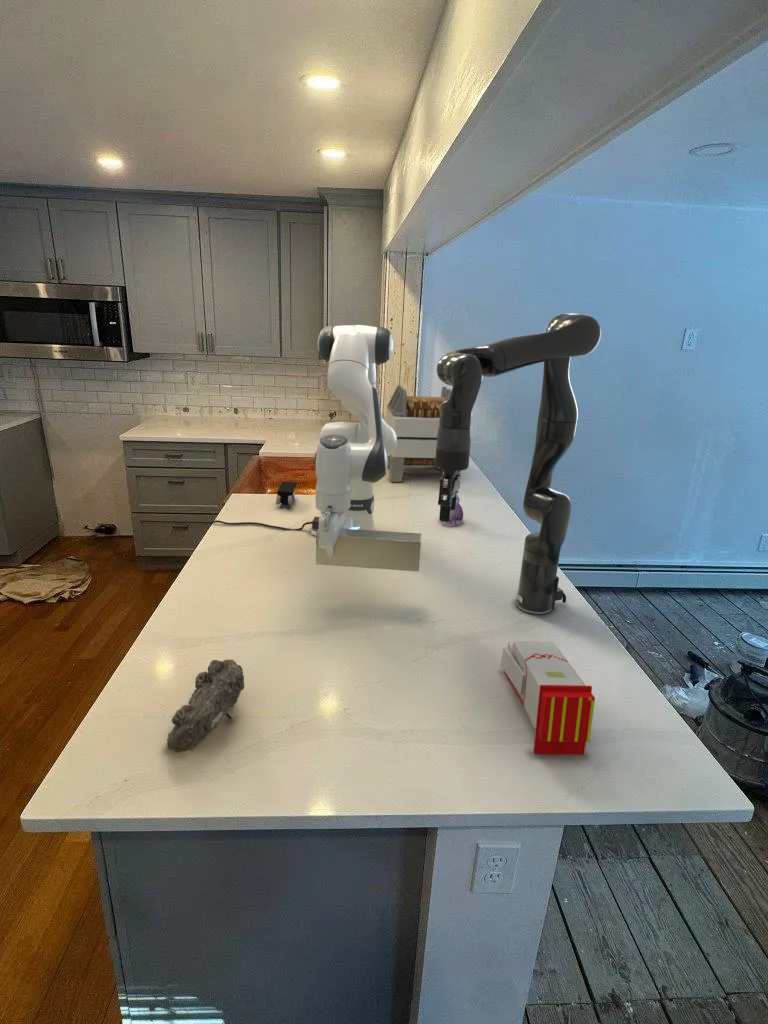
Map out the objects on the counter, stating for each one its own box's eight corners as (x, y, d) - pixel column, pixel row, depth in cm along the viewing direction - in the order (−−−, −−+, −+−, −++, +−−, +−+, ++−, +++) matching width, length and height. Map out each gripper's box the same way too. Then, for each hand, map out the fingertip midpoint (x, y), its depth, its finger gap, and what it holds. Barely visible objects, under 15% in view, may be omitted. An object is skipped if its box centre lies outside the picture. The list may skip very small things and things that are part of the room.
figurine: (448, 528, 206) (452, 489, 201) (433, 519, 215) (436, 481, 210) (470, 525, 210) (473, 486, 205) (454, 516, 219) (457, 479, 214)
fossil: (192, 660, 117) (244, 628, 112) (224, 691, 120) (276, 661, 115) (142, 746, 98) (202, 712, 93) (182, 779, 101) (242, 748, 96)
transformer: (382, 463, 289) (386, 382, 275) (445, 464, 293) (451, 384, 279) (390, 482, 257) (394, 392, 243) (460, 483, 261) (468, 394, 247)
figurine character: (293, 513, 218) (297, 497, 231) (292, 495, 215) (297, 480, 228) (275, 513, 218) (281, 496, 231) (274, 495, 214) (280, 479, 228)
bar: (315, 564, 147) (315, 534, 144) (319, 555, 152) (319, 526, 149) (418, 571, 146) (420, 541, 143) (419, 562, 151) (421, 533, 148)
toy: (549, 624, 127) (604, 693, 98) (544, 678, 130) (596, 762, 100) (496, 622, 127) (535, 692, 97) (491, 677, 129) (528, 761, 100)
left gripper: (338, 516, 134) (338, 568, 139) (350, 488, 153) (349, 535, 158) (312, 514, 134) (312, 566, 139) (327, 487, 153) (327, 534, 158)
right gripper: (465, 455, 118) (458, 527, 123) (474, 441, 131) (468, 507, 136) (430, 451, 120) (425, 523, 125) (442, 438, 133) (437, 503, 138)
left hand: (332, 549), depth 149 cm, fingers closed on bar, 5 cm apart
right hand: (447, 514), depth 131 cm, fingers open, 8 cm apart
